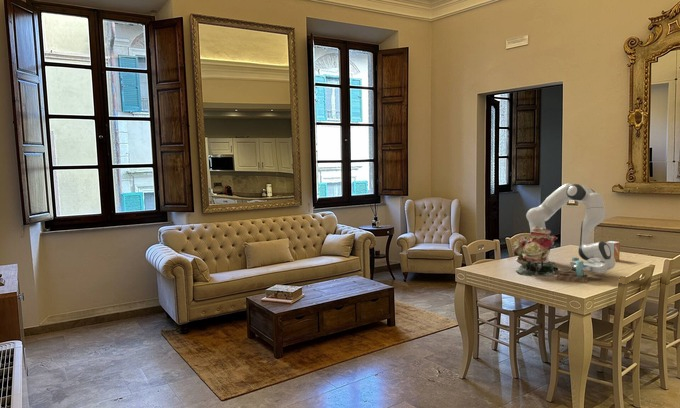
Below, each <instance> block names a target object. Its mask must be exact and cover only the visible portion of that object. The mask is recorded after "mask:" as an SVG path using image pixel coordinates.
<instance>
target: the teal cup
mask: <svg viewBox="0 0 680 408" xmlns="http://www.w3.org/2000/svg"><path fill="white" fill-rule="evenodd" d="M571 261H580V259H579V257H571ZM558 272H560V273H571V274H576V269H575V268H573V267H571V268H564V267H563V268H562V267H561V268H558Z"/></svg>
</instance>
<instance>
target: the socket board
mask: <svg viewBox="0 0 680 408" xmlns="http://www.w3.org/2000/svg"><path fill="white" fill-rule="evenodd" d="M556 280H557V281H565V282H573V283H574V282H575V283H586V284H587V283H588V274H583V277H576V274H571V273H560V272H559V271H558V272H557V274H556Z"/></svg>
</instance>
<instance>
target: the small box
mask: <svg viewBox="0 0 680 408" xmlns="http://www.w3.org/2000/svg"><path fill="white" fill-rule="evenodd" d="M604 242H605V241H604ZM605 243H606V244H607V245H608V246H609V247H610V250H611V256H612V257H613V258H614V259H615V261H619V260H620V249H621V242H620V241H613V240H609V241H606V242H605Z"/></svg>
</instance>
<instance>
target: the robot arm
mask: <svg viewBox="0 0 680 408" xmlns="http://www.w3.org/2000/svg"><path fill="white" fill-rule="evenodd" d="M570 200H572V201H575V202H577V203H581V204H584V206H585V207H584V209H585V214H584V215H585V216H584V219H582V221H581V227H580V238H579V245H578V251H577V252H578V256H579V257H580V258H581V259H582V261H583V267H582V270H583V272H584V271H586V272H590V273H591V274H607V273H608V271H610V270H612V269H613V268H615V266H616V261H615V259H614V258H613V257H612V256H611V250H610V247H609V246H608V245H607V244H606V243H605V241H597V242H591V233H592V231H593V229H594V228H595V227H596V226H598V225H600V224H601V223H603V222H604V221H605V219H606V207H605V201H604V197H603V195H602V194H601V193H599V192H595V190H593V189H591V188H590V187H588V186H586V185H582V184H579V183H572V184H571V183H568V182H567V183H564V184H563V185H561V186H559V187H558V188H557V189H555V190H554V191H553V192H552V193H551V194H550V195H548V196H547V197H546V198H545V200H543V202H542V203H541V204H540V205H538V206H536V207H531V208H530V209H529V210H528V211H527V212H526V214H525V217H526V219H527V222H528V225H529V229H530V232H531V231H533V230H532V229H531V228H533V227H535V226H539V227H541V228H543V229H547V228H546V222H547V221H549V220H550V219H551V217H553V215H555V214H556V212H557V211H558V210H561V208H562V207H564V205H566V204H568V202H569V201H570ZM516 257H517V258H516ZM516 257H515V261H516V262H518V261H517V259H518V257H519V256H516ZM522 261H523V260H522ZM526 261H527V260H526ZM549 262H550V259H549V255H548V256H547V258H546V261H543V264H548V263H549ZM539 264H541V262H540V263H539ZM569 266H570V268H572V267H573V268H575V269H576V261H572V260H571V261H570V262H569Z"/></svg>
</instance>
